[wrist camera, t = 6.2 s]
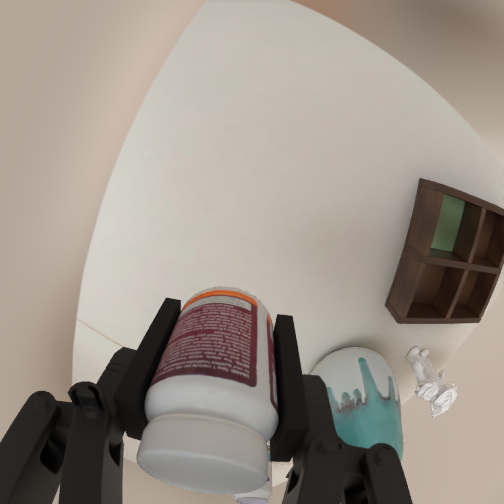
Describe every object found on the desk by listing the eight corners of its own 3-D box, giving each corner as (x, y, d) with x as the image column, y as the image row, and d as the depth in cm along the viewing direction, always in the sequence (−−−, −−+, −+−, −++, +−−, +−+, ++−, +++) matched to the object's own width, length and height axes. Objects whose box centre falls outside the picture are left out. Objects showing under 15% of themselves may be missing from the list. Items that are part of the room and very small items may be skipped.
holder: (419, 177, 24) (440, 183, 20) (498, 207, 25) (517, 215, 21) (384, 305, 30) (397, 323, 26) (465, 308, 30) (479, 322, 26)
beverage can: (275, 445, 42) (277, 498, 30) (266, 458, 44) (266, 506, 33) (239, 441, 41) (235, 495, 30) (233, 455, 44) (229, 503, 32)
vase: (299, 397, 36) (311, 505, 19) (303, 339, 32) (326, 474, 15) (373, 387, 35) (406, 483, 18) (390, 328, 31) (449, 438, 14)
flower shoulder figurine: (390, 358, 33) (421, 421, 22) (407, 337, 32) (445, 399, 20) (425, 368, 34) (454, 422, 23) (440, 351, 33) (474, 403, 22)
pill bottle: (163, 318, 14) (100, 454, 6) (226, 264, 12) (184, 428, 5) (226, 369, 15) (208, 502, 7) (292, 328, 14) (311, 482, 6)
